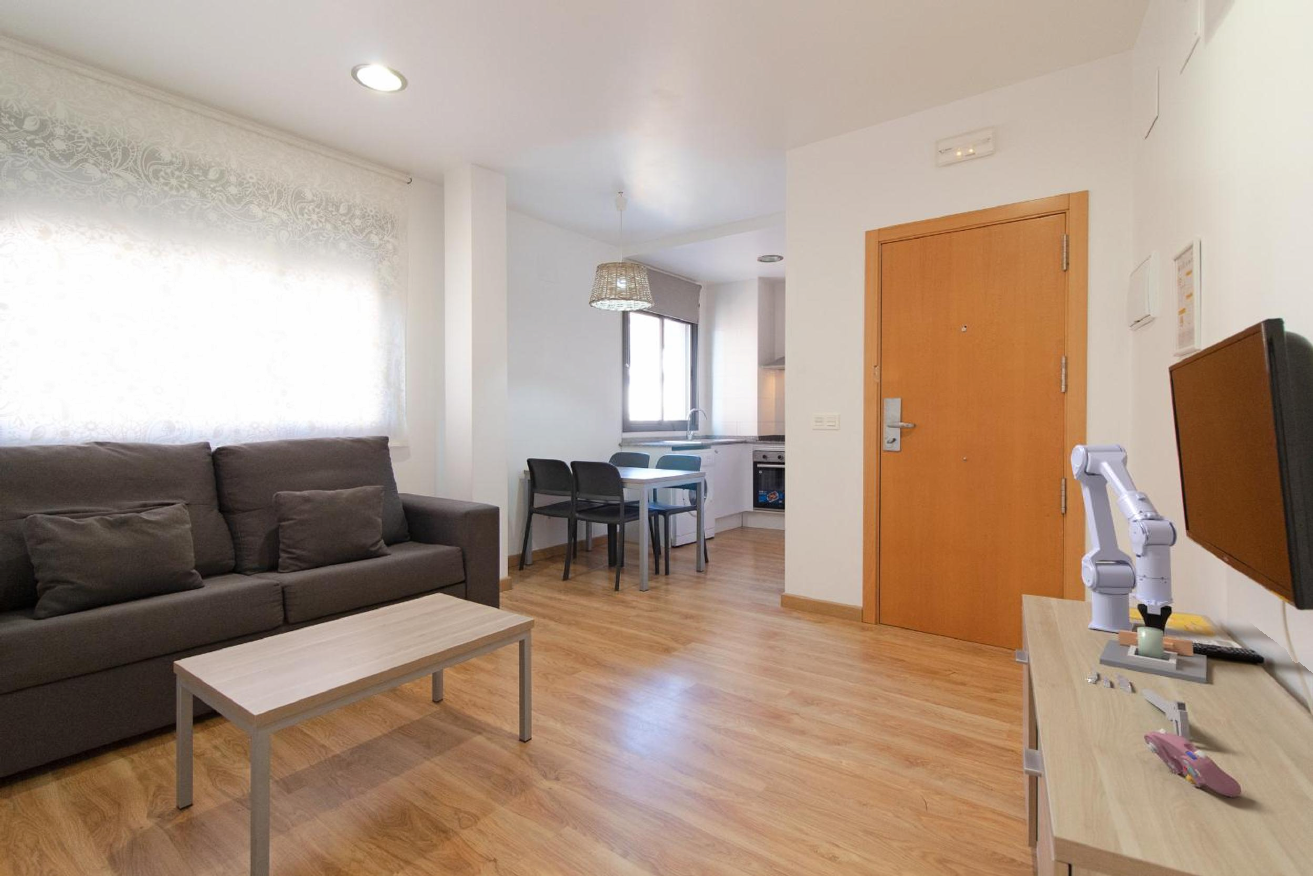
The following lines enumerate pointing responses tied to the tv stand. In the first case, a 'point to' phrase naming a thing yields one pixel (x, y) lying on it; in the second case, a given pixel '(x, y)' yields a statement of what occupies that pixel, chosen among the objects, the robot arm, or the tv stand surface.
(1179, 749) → the video game controller
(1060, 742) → the tv stand surface
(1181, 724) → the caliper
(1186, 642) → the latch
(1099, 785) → the tv stand surface
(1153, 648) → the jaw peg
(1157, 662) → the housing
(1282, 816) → the tv stand surface
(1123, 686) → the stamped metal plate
